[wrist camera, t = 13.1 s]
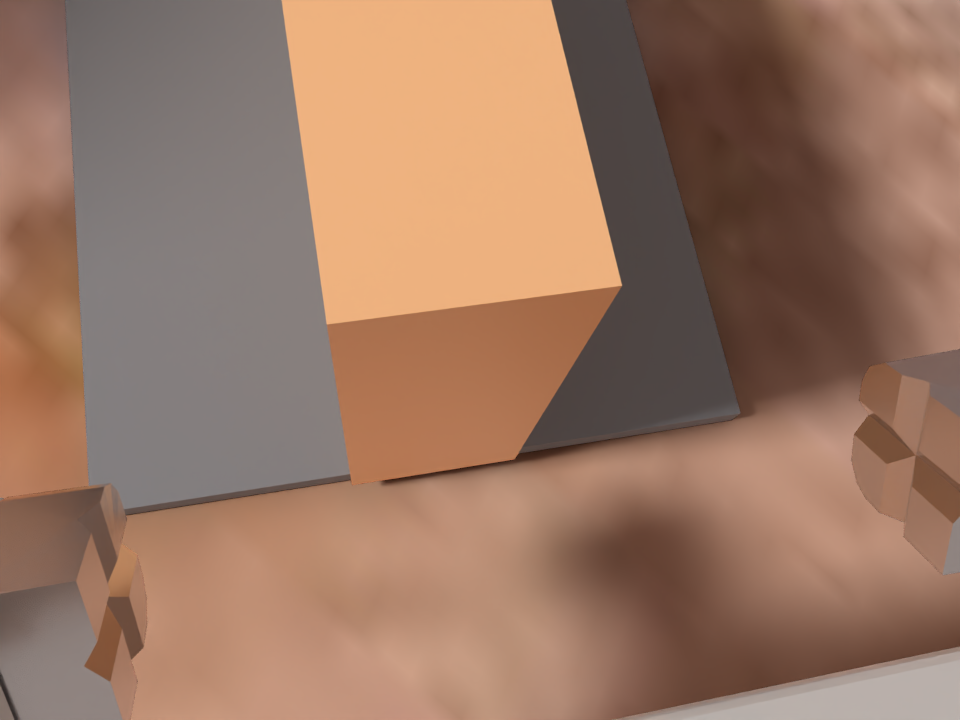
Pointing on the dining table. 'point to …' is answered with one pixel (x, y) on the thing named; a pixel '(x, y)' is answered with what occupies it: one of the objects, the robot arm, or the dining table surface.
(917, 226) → the dining table surface
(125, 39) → the mat
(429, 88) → the plug
